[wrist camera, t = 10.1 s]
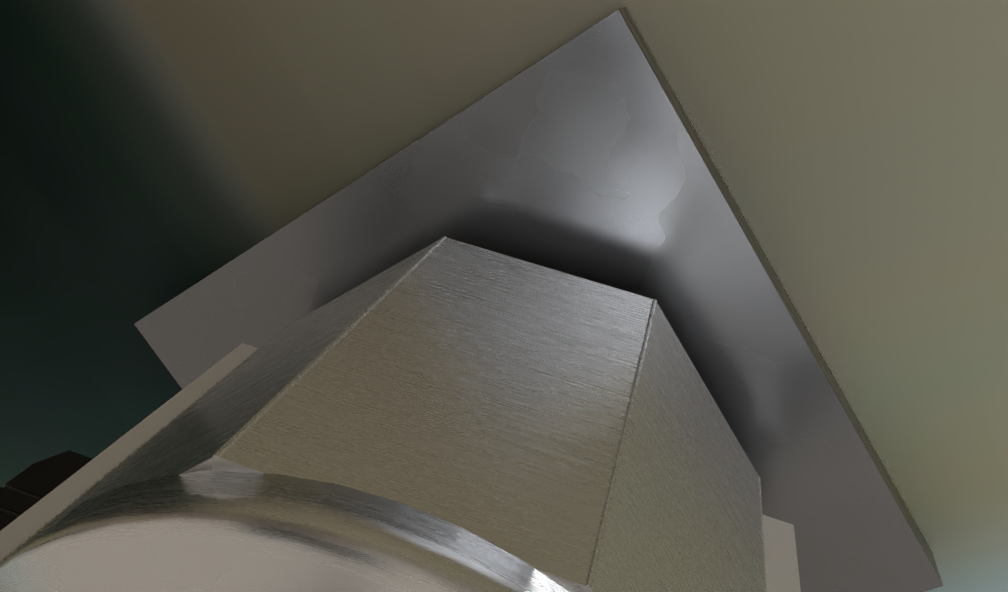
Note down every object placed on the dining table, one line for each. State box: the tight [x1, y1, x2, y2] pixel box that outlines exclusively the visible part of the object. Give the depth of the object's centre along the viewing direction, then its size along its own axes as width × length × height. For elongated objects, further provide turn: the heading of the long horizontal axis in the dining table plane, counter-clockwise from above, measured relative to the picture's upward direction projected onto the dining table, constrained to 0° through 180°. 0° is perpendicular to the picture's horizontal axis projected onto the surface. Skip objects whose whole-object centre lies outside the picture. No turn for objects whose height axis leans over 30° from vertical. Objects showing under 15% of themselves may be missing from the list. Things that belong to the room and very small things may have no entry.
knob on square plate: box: [134, 7, 943, 592], centre depth 15 cm, size 12×12×8 cm
